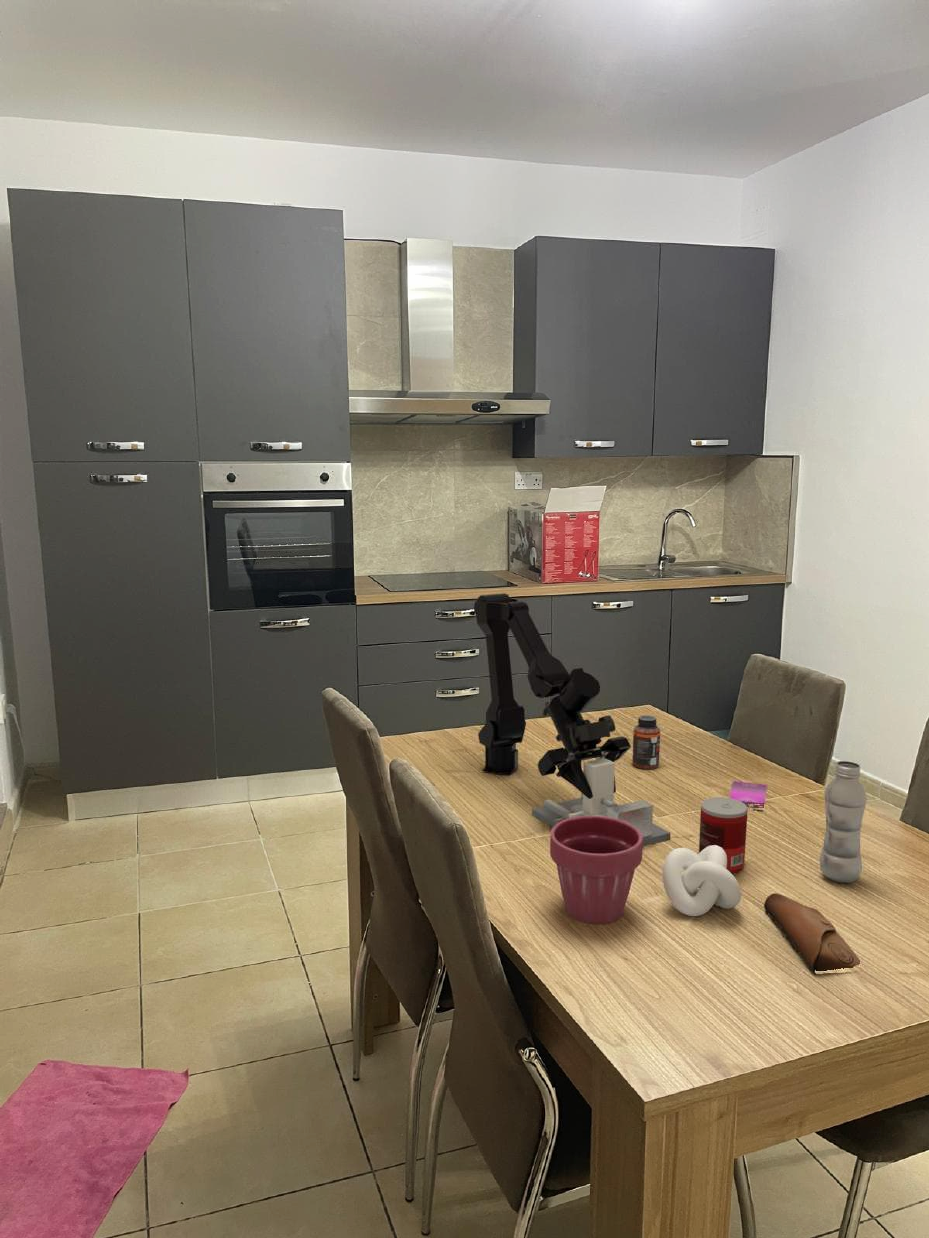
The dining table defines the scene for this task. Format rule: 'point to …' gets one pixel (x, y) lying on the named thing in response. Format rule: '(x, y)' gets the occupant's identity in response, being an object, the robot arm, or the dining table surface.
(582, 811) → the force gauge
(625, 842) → the plant pot
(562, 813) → the track
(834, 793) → the plastic bottle
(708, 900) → the white knot sculpture
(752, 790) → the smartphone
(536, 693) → the robot arm
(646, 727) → the supplement bottle
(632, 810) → the grey block with recess
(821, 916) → the sunglasses case
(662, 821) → the dining table surface
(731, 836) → the canned food
